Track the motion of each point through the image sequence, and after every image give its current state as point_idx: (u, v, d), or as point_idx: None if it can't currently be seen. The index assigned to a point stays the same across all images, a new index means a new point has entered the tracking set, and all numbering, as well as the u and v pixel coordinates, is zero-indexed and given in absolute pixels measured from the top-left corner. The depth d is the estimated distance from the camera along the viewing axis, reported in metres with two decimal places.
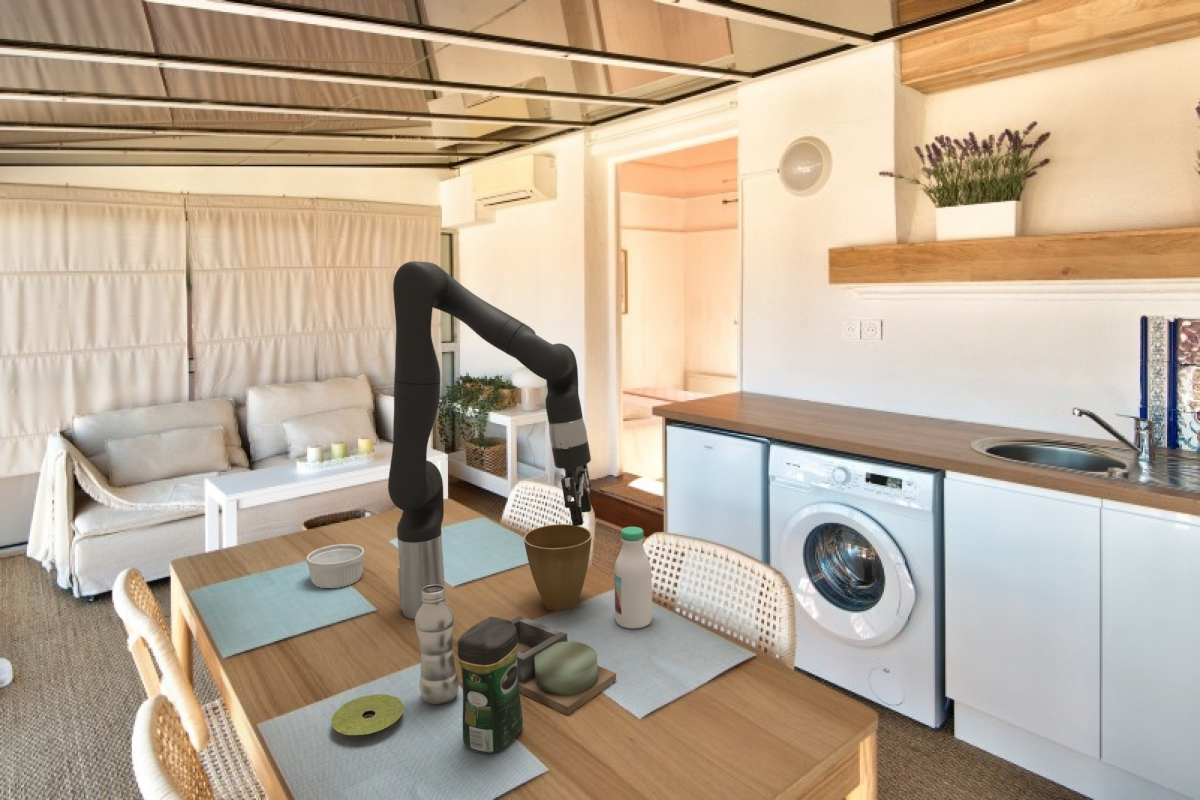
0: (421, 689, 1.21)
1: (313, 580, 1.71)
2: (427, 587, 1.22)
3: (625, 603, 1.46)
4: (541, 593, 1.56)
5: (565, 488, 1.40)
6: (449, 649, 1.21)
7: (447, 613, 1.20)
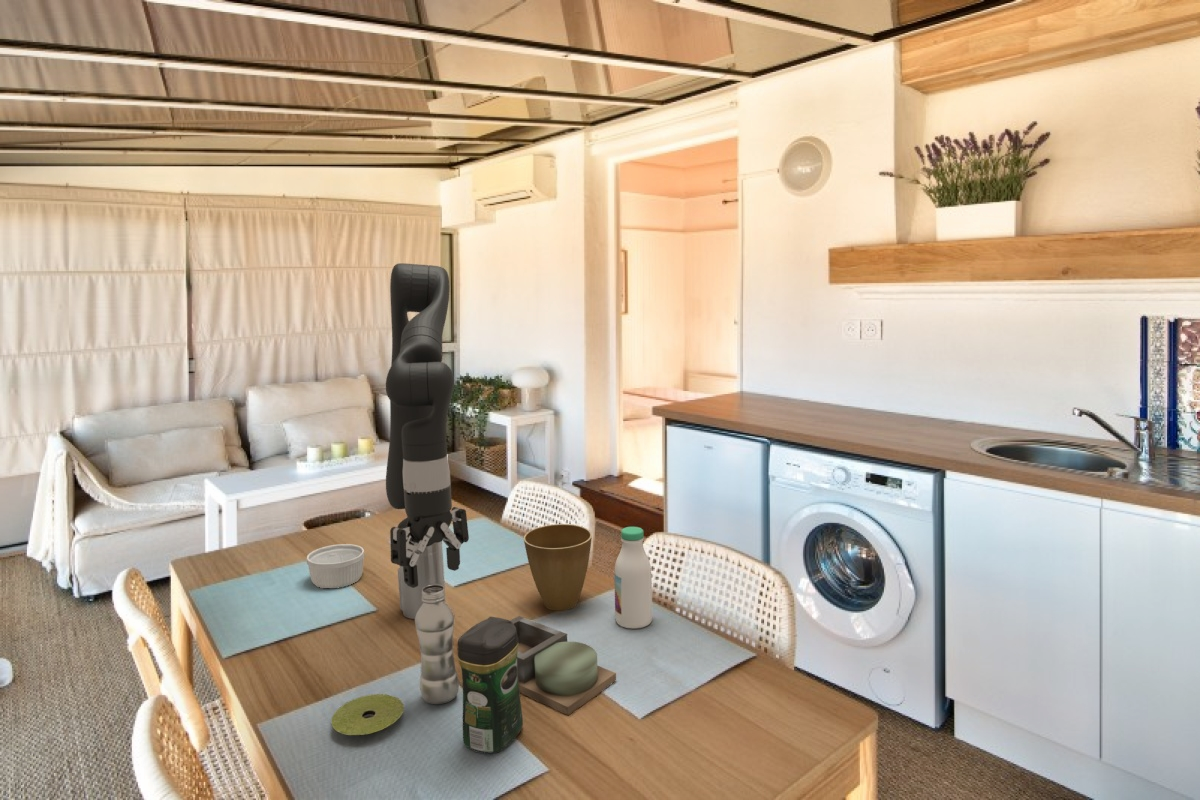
0: (421, 689, 1.21)
1: (313, 580, 1.71)
2: (427, 587, 1.22)
3: (625, 603, 1.46)
4: (541, 593, 1.56)
5: (392, 540, 1.14)
6: (449, 649, 1.21)
7: (447, 613, 1.20)
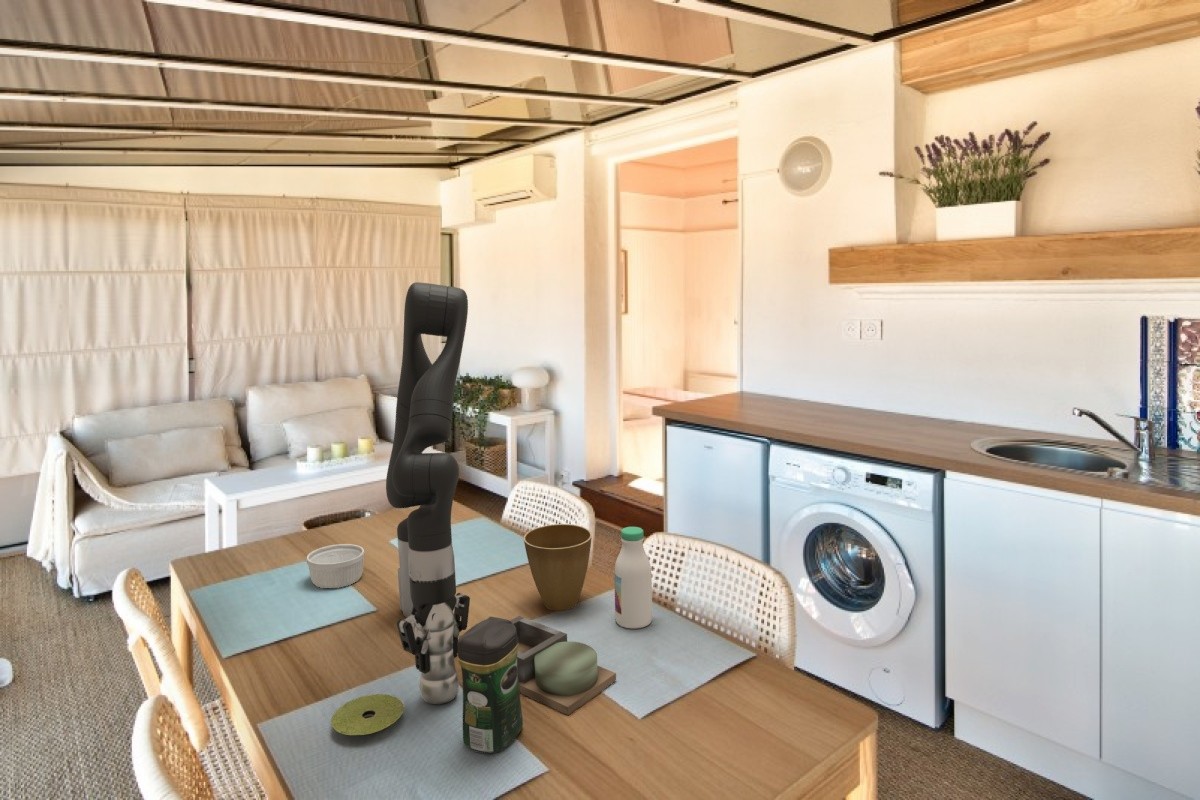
0: (421, 689, 1.21)
1: (313, 580, 1.71)
2: None
3: (625, 603, 1.46)
4: (541, 593, 1.56)
5: (401, 632, 1.17)
6: (449, 649, 1.21)
7: (447, 613, 1.20)
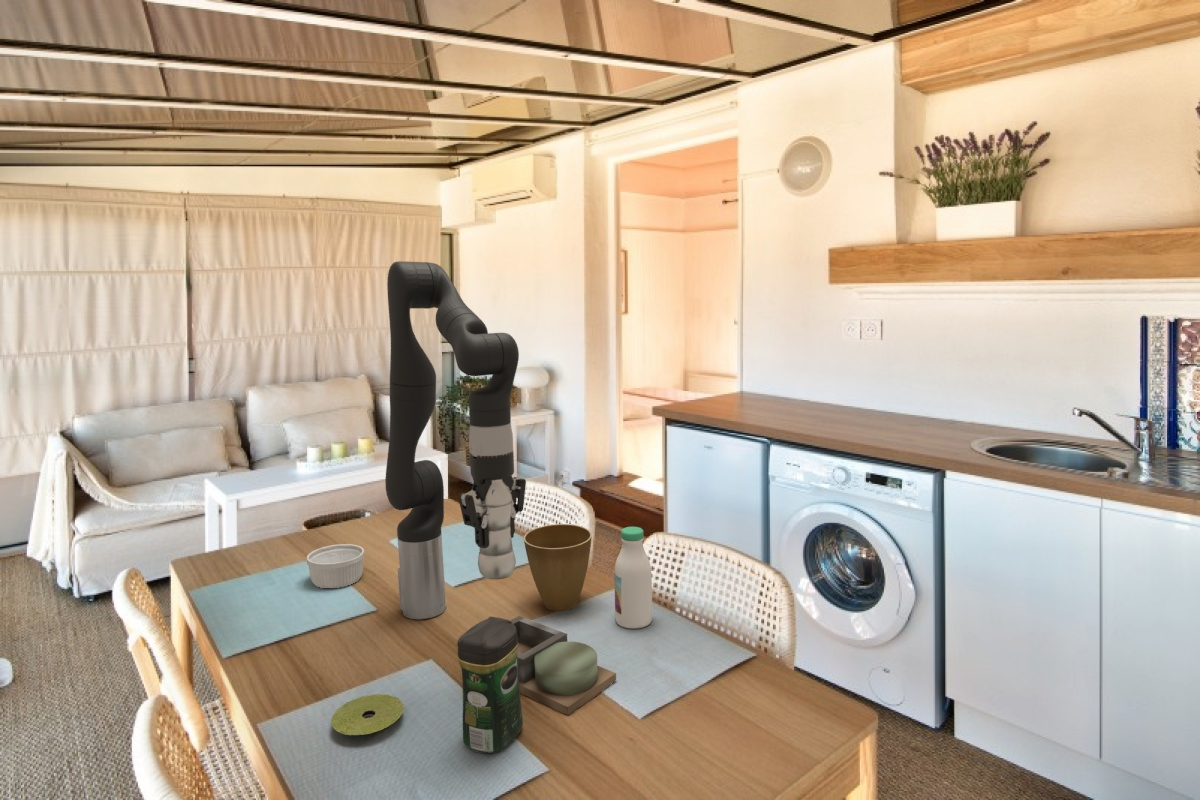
0: (480, 565, 1.26)
1: (313, 580, 1.71)
2: None
3: (625, 603, 1.46)
4: (541, 593, 1.56)
5: (462, 505, 1.21)
6: (507, 526, 1.25)
7: (506, 491, 1.24)
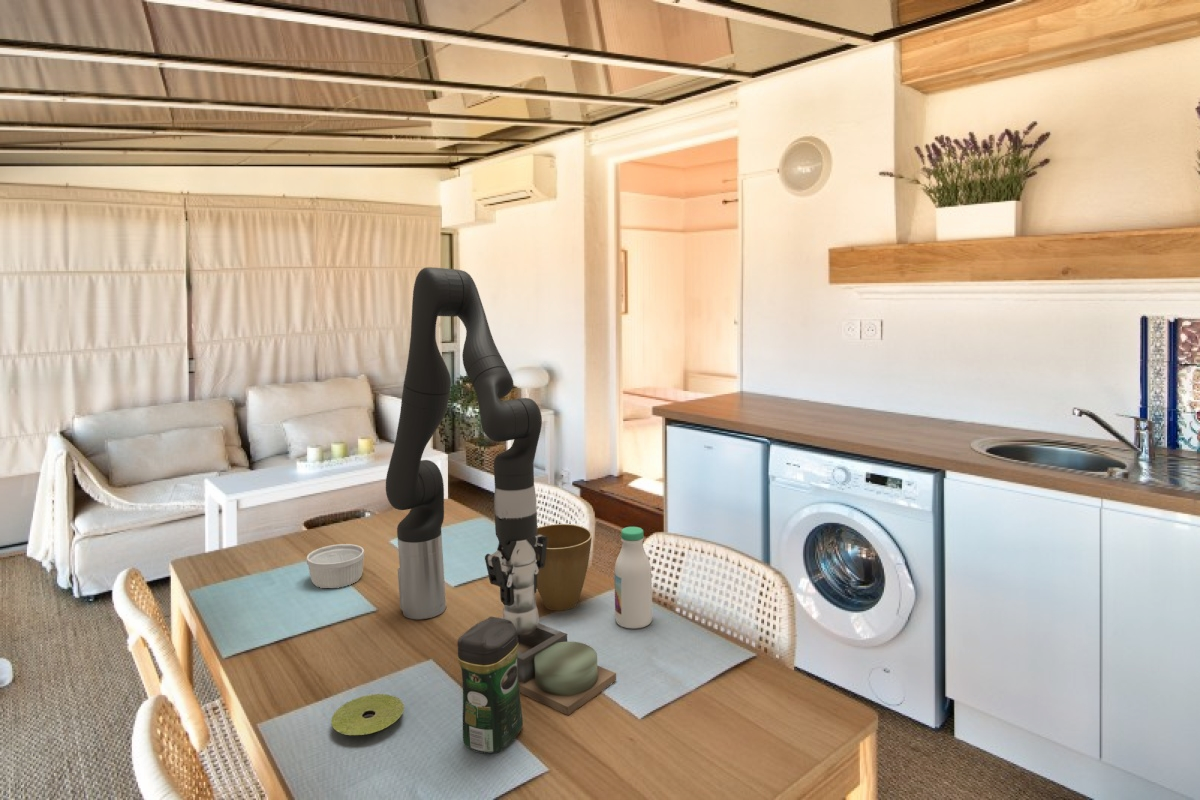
0: None
1: (313, 580, 1.71)
2: None
3: (625, 603, 1.46)
4: (541, 593, 1.56)
5: (488, 566, 1.26)
6: (531, 584, 1.30)
7: (530, 550, 1.29)
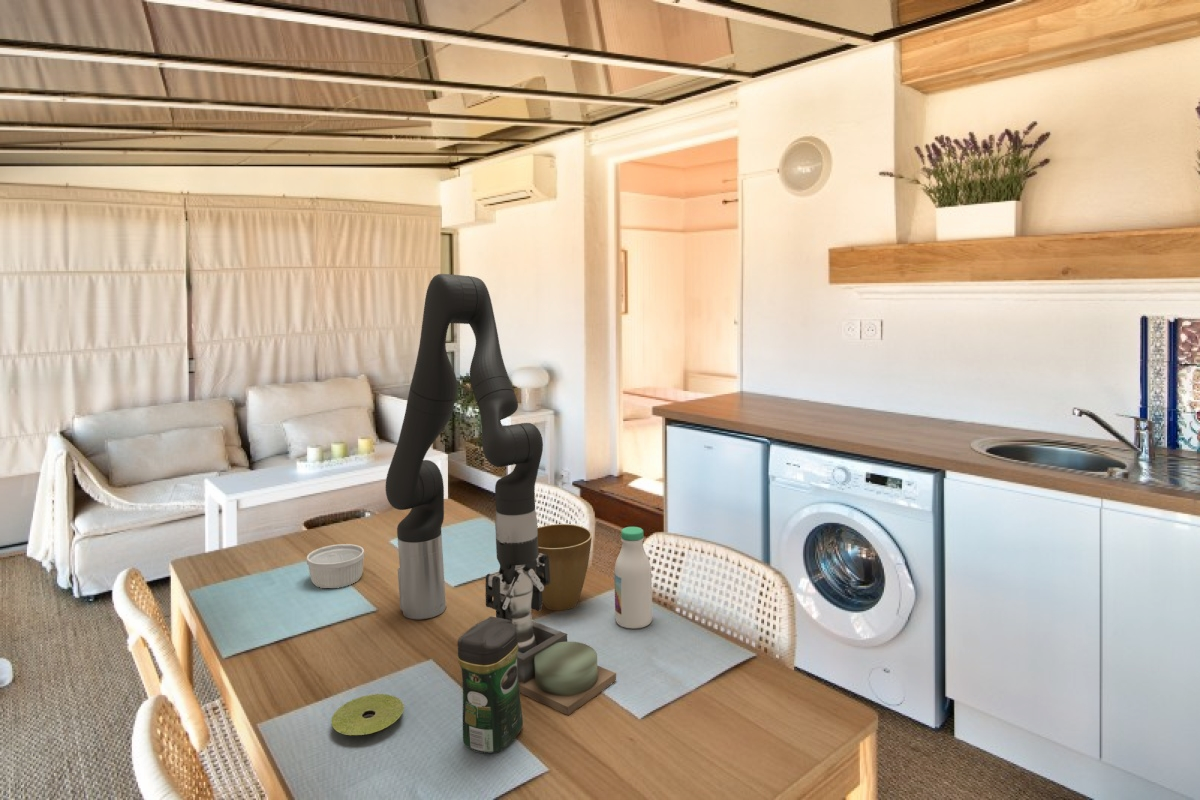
0: None
1: (313, 580, 1.71)
2: None
3: (625, 603, 1.46)
4: None
5: (488, 586, 1.26)
6: (529, 613, 1.30)
7: (527, 579, 1.29)
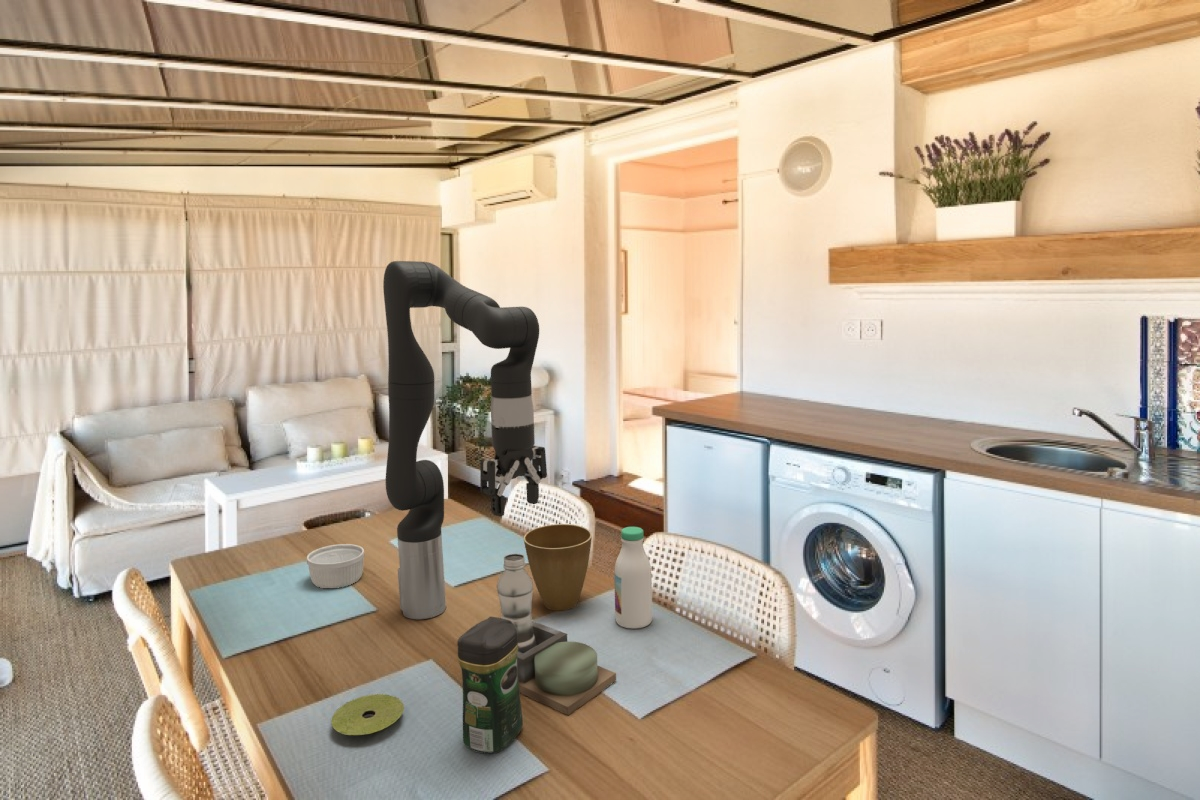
0: None
1: (313, 580, 1.71)
2: (508, 556, 1.31)
3: (625, 603, 1.46)
4: (541, 593, 1.56)
5: (483, 471, 1.23)
6: (529, 613, 1.30)
7: (527, 579, 1.29)
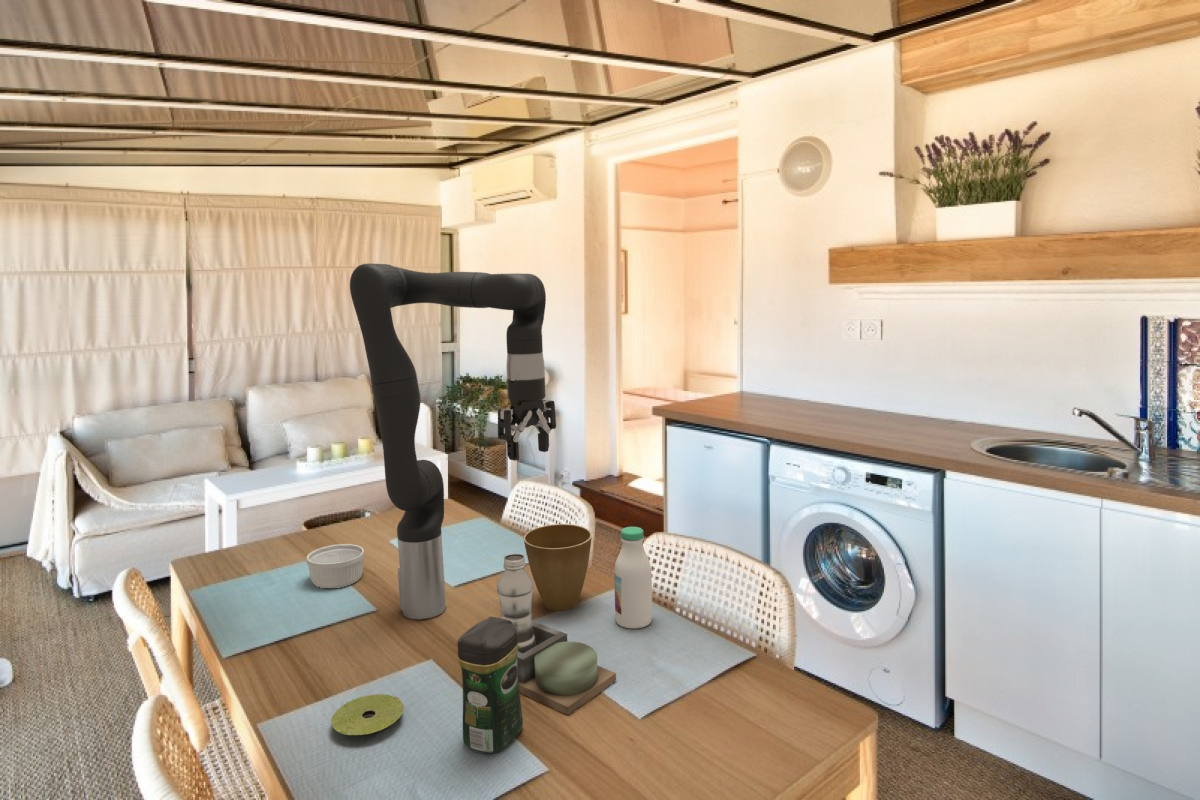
0: None
1: (313, 580, 1.71)
2: (508, 556, 1.31)
3: (625, 603, 1.46)
4: (541, 593, 1.56)
5: (500, 419, 1.39)
6: (529, 613, 1.30)
7: (527, 579, 1.29)
